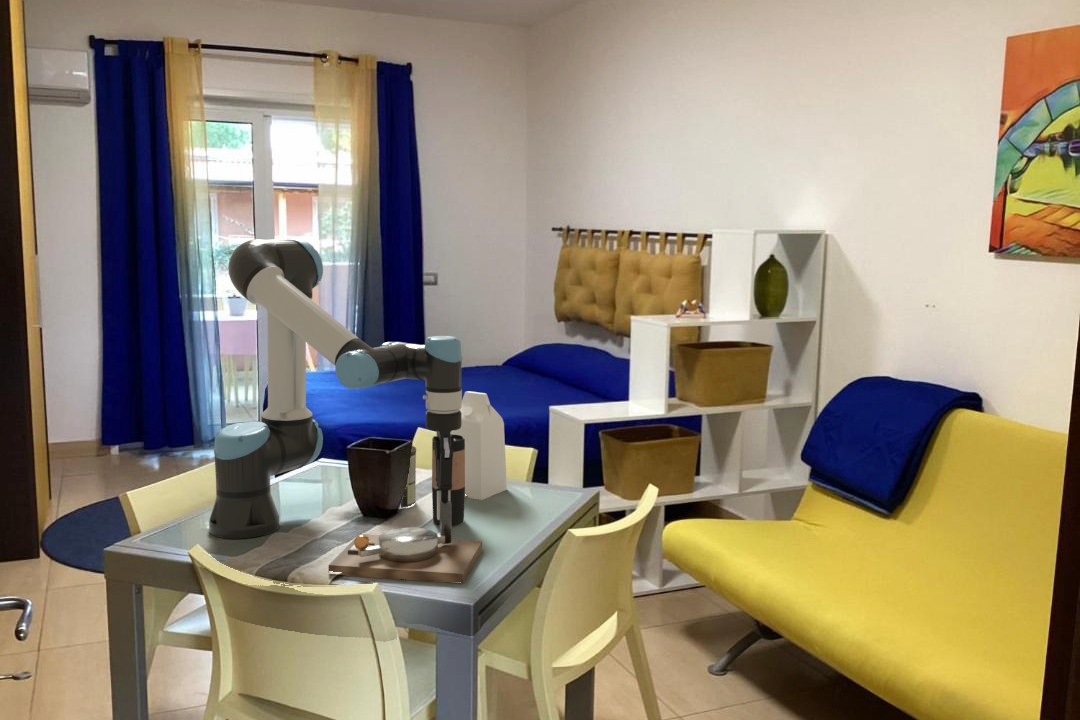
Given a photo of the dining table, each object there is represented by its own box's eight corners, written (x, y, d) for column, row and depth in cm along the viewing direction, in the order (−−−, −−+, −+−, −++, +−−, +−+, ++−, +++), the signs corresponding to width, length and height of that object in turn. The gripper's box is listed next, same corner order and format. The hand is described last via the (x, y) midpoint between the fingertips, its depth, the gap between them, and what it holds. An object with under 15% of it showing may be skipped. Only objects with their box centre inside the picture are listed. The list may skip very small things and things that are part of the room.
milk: (506, 489, 244) (507, 392, 241) (481, 500, 235) (481, 398, 231) (469, 482, 251) (470, 387, 247) (443, 492, 241) (443, 393, 237)
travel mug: (425, 523, 216) (425, 439, 213) (443, 514, 222) (443, 432, 220) (453, 528, 212) (453, 443, 209) (471, 519, 219) (471, 436, 216)
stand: (328, 574, 184) (328, 561, 183) (360, 542, 202) (359, 530, 202) (462, 583, 180) (462, 570, 180) (482, 550, 199) (482, 537, 198)
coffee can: (390, 513, 223) (390, 455, 221) (366, 503, 230) (365, 448, 228) (425, 504, 230) (424, 449, 228) (400, 495, 237) (399, 441, 235)
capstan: (366, 570, 180) (365, 525, 178) (344, 552, 190) (343, 509, 188) (464, 551, 191) (464, 509, 190) (438, 535, 201) (438, 494, 200)
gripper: (422, 404, 201) (423, 510, 204) (428, 416, 188) (429, 529, 192) (457, 403, 203) (457, 508, 206) (465, 415, 190) (465, 527, 193)
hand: (443, 518), depth 199 cm, fingers closed
